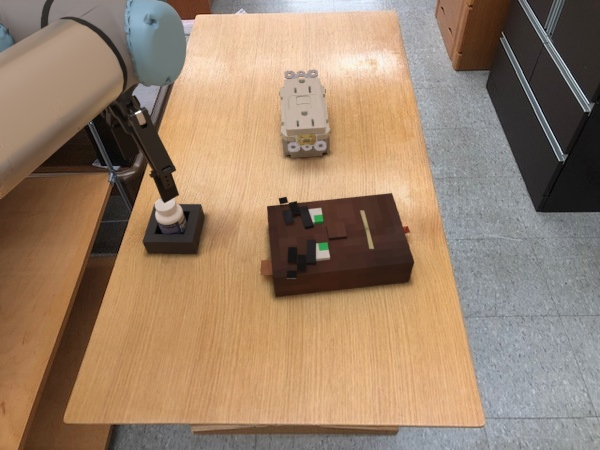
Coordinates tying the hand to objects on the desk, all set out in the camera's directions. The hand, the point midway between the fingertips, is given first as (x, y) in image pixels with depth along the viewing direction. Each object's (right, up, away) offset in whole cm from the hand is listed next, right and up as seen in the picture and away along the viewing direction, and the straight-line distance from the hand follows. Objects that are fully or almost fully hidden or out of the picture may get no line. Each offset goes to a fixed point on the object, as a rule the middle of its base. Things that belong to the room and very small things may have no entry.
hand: (150, 175), depth 75 cm
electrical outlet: (+26, +14, +37) cm, 48 cm away
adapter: (-1, -10, +19) cm, 21 cm away
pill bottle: (-1, -10, +19) cm, 22 cm away
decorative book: (+32, -14, +14) cm, 38 cm away
